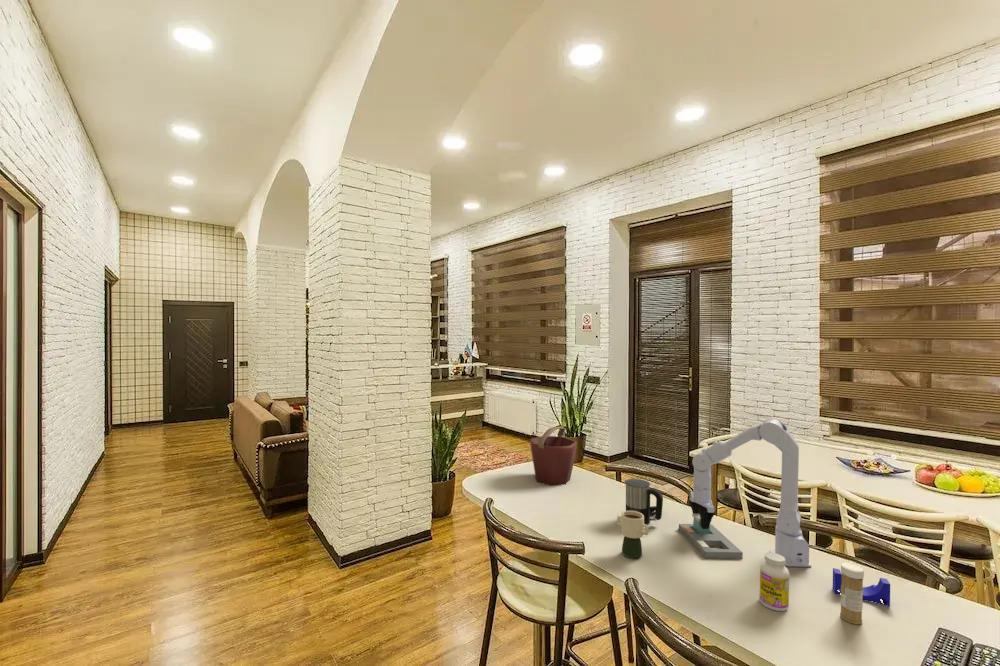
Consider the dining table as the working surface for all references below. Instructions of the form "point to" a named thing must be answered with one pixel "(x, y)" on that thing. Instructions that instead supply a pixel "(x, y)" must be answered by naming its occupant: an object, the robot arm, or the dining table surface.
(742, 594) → the dining table surface
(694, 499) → the robot arm
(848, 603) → the sprinkles bottle
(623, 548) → the character mug
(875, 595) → the cable clip
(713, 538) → the socket plate
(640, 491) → the milk frother
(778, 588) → the supplement bottle
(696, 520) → the plug
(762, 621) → the dining table surface
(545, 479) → the bucket
